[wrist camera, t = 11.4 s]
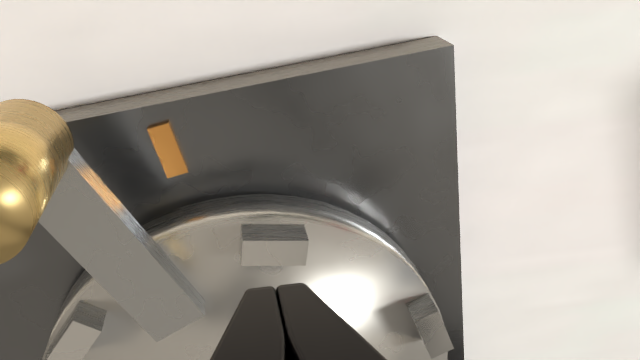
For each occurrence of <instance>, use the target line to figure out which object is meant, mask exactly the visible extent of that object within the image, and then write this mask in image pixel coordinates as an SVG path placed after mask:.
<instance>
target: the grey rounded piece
mask: <svg viewBox="0 0 640 360" xmlns="http://www.w3.org/2000/svg"><path fill="white" fill-rule="evenodd" d="M38 222H39V223H40V224H41V225H42V226H43V227H44V228H45V229H46V230H47V231H48V232H49V233H50V234H51V235H52V236H53V237H54V238H55V239H56V240H57V241H58V242H59V243H60V244H61V245H62V246H63V247H64V248H65V249H66V250H67V251H68V252H69V253H70V254H71V256H72V257H73V258H74V259H75V260H76V261H77V262H78V263H79V264H80V265H81V266H82V267H83V268H84V269H85V271H84V272H83V273H82V274H81V276H80V277H79V278H78V280H77V281H76V282H75V283H74V285H73V286H72V288H71V290H70V291H69V293H68V295H67V297H66V299H65V300H64V302H63V304H62V306H61V308H60V311H59V314H58V316H57V319H56V322H55V325H54V327H53V330H52V333H51V336H50V338H49V341H48V344H47V347H46V349H45V352H44V355H43V358H42V360H210V358H211V357H212V355H213V353H214V351H215V349H216V347H217V345H218V343H219V341H220V339H221V337H222V335H223V333H224V331H225V329H226V327H227V326H228V324H229V322H230V320H231V318H232V316H233V314H234V312H235V310H236V308H237V306H238V304H239V302H240V300H241V298H242V297H243V295H244V293H245V291H246V290H247V289H250V288H258V287H267V286H272V287H274V288H275V290H276V288H277V287H278V286H279V285H285V284H294V283H304V284H306V285H307V286H308V287H309V288H310V289H311V290H312V291H314V292H315V293H316V294H317V295H318V296H319V297H320V298H321V299H322V300H323V301H324V302H325V303H326V304H328V305H329V306H330V307H331V308H332V309H333V310H334V311H335V312H336V313H337V314H338V315H339V316H341V317H342V318H343V319H344V320H345V321H346V322H347V323H348V324H349V325H350V326H351V327H352V328H354V329H355V330H356V331H357V332H358V333H359V334H360V335H361V336H362V337H363V338H364V339H365V340H367V341H368V342H369V343H370V344H371V345H372V346H373V347H374V348H375V349H376V350H377V351H378V352H379V353H381V354H382V355H383V356H384V357H385V358H386V359H387V360H447V355H448V351H450V350H452V349H454V347H453V345H452V342H451V340H450V338H449V335H448V333H447V330H446V328H445V326H444V322H443V319H442V316H441V313H440V310H439V308H438V306H437V304H436V302H435V300H434V298H433V297H432V295H431V293H430V291H429V289H428V288H427V286H426V284H425V283H424V281H423V279H422V277H421V276H420V274H419V272H418V271H417V269H416V267H415V265H414V264H413V263H412V261H411V260H410V259H409V257H408V256H407V255H406V253H405V252H404V251H403V249H402V248H401V247H400V246H399V245H398V244H397V243H396V242H395V241H393V240H392V239H391V238H390V237H389V236H388V235H387V234H386V233H385V232H383V231H382V230H380V229H379V228H377V227H376V226H375V225H373V224H372V223H370V222H369V221H367V220H365V219H363V218H361V217H359V216H357V215H355V214H353V213H351V212H349V211H347V210H345V209H342V208H339V207H336V206H333V205H331V204H328V203H325V202H322V201H317V200H312V199H307V198H302V197H297V196H288V195H276V194H249V195H235V196H228V197H222V198H215V199H209V200H205V201H202V202H198V203H194V204H191V205H187V206H183V207H180V208H178V209H175V210H173V211H170V212H168V213H165V214H163V215H160V216H158V217H155V218H153V219H151V220H150V221H148V222H146V223H144V224H142V225H140V224H139V223H138V221H137V220H136V219H135V218H134V217H133V216H132V215H131V213H130V212H129V211H128V210H127V209H126V208H125V206H124V205H123V204H122V203H121V202H120V201H119V199H118V198H117V197H116V196H115V195H114V194H113V193H112V191H111V190H110V189H109V188H108V187H107V186H106V184H105V183H104V182H103V181H102V180H101V179H100V177H99V176H98V175H97V174H96V173H95V172H94V170H93V169H92V168H91V167H90V166H89V165H88V164H87V162H86V161H85V160H84V159H83V158H82V157H81V155H80V154H79V153H78V152H77V151H76V150H75V148H74V139H73V135H72V132H71V130H70V128H69V126H68V125H67V123H66V122H65V121H64V119H63V118H62V117H61V116H60V115H59V114H58V113H56V112H55V111H54V110H52V109H51V108H49V107H47V106H45V105H43V104H41V103H38V102H35V101H31V100H25V99H12V100H6V101H3V102H0V264H2V263H5V262H7V261H8V260H10V259H12V258H13V257H15V256H16V255H17V254H18V253H19V252H20V251H21V250H22V249H23V248H24V246H25V245H26V243H27V241H28V239H29V237H30V236H31V234H32V232H33V230H34V228H35V226H36V225H37V223H38Z"/></svg>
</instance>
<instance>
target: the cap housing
mask: <svg viewBox="0 0 640 360" xmlns="http://www.w3.org/2000/svg"><path fill="white" fill-rule="evenodd" d="M55 112H56V113H58V114H59V115H60V116H61V117H62V118H63V119H64V121H65V122H66V123H67V125H68V126H69V128H70V130H71V132H72V135H73V139H74V148H75V150H76V151H77V152H78V153H79V154H80V155H81V157H82V158H83V159H84V160H85V161H86V162H87V164H88V165H89V166H90V167H91V168H92V169H93V170H94V172H95V173H96V174H97V175H98V176H99V177H100V179H101V180H102V181H103V182H104V183H105V184H106V186H107V187H108V188H109V189H110V190H111V191H112V193H113V194H114V195H115V196H116V197H117V198H118V199H119V201H120V202H121V203H122V204H123V205H124V206H125V208H126V209H127V210H128V211H129V212H130V213H131V215H132V216H133V217H134V218H135V219H136V220H137V221H138V223H139V224H140V225H142V224H144V223H146V222H148V221H150V220H151V219H153V218H155V217H158V216H160V215H163V214H165V213H168V212H170V211H173V210H175V209H178V208H180V207H183V206H187V205H191V204H194V203H198V202H202V201H205V200H209V199H215V198H222V197H228V196H235V195H249V194H276V195H288V196H297V197H302V198H307V199H312V200H317V201H322V202H325V203H328V204H331V205H333V206H336V207H339V208H342V209H345V210H347V211H349V212H351V213H353V214H355V215H357V216H359V217H361V218H363V219H365V220H367V221H369V222H370V223H372V224H373V225H375V226H376V227H377V228H379V229H380V230H382V231H383V232H385V233H386V234H387V235H388V236H389V237H390V238H391V239H392V240H393V241H395V242H396V243H397V244H398V245H399V246H400V247H401V248H402V249H403V251H404V252H405V253H406V255H407V256H408V257H409V259H410V260H411V261H412V263H413V264H414V265H415V267H416V269H417V271H418V272H419V274H420V276H421V277H422V279H423V281H424V283H425V284H426V286H427V288H428V289H429V291H430V293H431V295H432V297H433V298H434V300H435V302H436V304H437V306H438V308H439V310H440V313H441V316H442V319H443V322H444V326H445V328H446V330H447V333H448V335H449V338H450V340H451V342H452V345H453V347H454V349H452V350H450V351H448V355H447V360H464V345H463V315H462V284H461V254H460V223H459V193H458V163H457V132H456V102H455V71H454V45H452V44H451V43H449V42H447V41H445V40H443V39H441V38H440V37H438V36H434V37H429V38H424V39H419V40H414V41H409V42H403V43H398V44H393V45H388V46H383V47H378V48H373V49H368V50H363V51H358V52H353V53H348V54H342V55H337V56H332V57H327V58H322V59H317V60H312V61H307V62H302V63H297V64H292V65H287V66H281V67H276V68H271V69H266V70H261V71H256V72H251V73H246V74H241V75H236V76H231V77H226V78H220V79H215V80H210V81H205V82H200V83H195V84H190V85H185V86H180V87H175V88H170V89H165V90H159V91H154V92H149V93H144V94H139V95H134V96H129V97H124V98H119V99H114V100H109V101H103V102H98V103H93V104H88V105H83V106H78V107H73V108H68V109H63V110H58V111H55ZM84 271H85V269H84V268H83V267H82V266H81V265H80V264H79V263H78V262H77V261H76V260H75V259H74V258H73V257H72V256H71V254H70V253H69V252H68V251H67V250H66V249H65V248H64V247H63V246H62V245H61V244H60V243H59V242H58V241H57V240H56V239H55V238H54V237H53V236H52V235H51V234H50V233H49V232H48V231H47V230H46V229H45V228H44V227H43V226H42V225H41V224H40V223H39V222H38V223H37V225H36V226H35V228H34V230H33V232H32V234H31V236H30V237H29V239H28V241H27V243H26V245H25V246H24V248H23V249H22V250H21V251H20V252H19V253H18V254H17V255H16V256H15V257H13V258H12V259H10V260H8V261H7V262H5V263H2V264H0V360H42V358H43V355H44V352H45V349H46V347H47V344H48V341H49V338H50V336H51V333H52V330H53V327H54V325H55V322H56V319H57V316H58V314H59V311H60V308H61V306H62V304H63V302H64V300H65V299H66V297H67V295H68V293H69V291H70V290H71V288H72V286H73V285H74V283H75V282H76V281H77V280H78V278H79V277H80V276H81V274H82V273H83V272H84Z"/></svg>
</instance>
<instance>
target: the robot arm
mask: <svg viewBox="0 0 640 360" xmlns="http://www.w3.org/2000/svg"><path fill="white" fill-rule="evenodd" d="M210 360H387V359H386V358H385V357H384V356H383V355H382V354H381V353H379V352H378V351H377V350H376V349H375V348H374V347H373V346H372V345H371V344H370V343H369V342H368V341H367V340H365V339H364V338H363V337H362V336H361V335H360V334H359V333H358V332H357V331H356V330H355V329H354V328H352V327H351V326H350V325H349V324H348V323H347V322H346V321H345V320H344V319H343V318H342V317H341V316H339V315H338V314H337V313H336V312H335V311H334V310H333V309H332V308H331V307H330V306H329V305H328V304H326V303H325V302H324V301H323V300H322V299H321V298H320V297H319V296H318V295H317V294H316V293H315V292H314V291H312V290H311V289H310V288H309V287H308V286H307V285H306V284H304V283H294V284H285V285H279V286H278V287H277V288H276V290H275V288H274V287H272V286H267V287H258V288H250V289H247V290H246V291H245V293H244V295H243V297H242V298H241V300H240V302H239V304H238V306H237V308H236V310H235V312H234V314H233V316H232V318H231V320H230V322H229V324H228V326H227V327H226V329H225V331H224V333H223V335H222V337H221V339H220V341H219V343H218V345H217V347H216V349H215V351H214V353H213V355H212V357H211V358H210Z"/></svg>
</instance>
